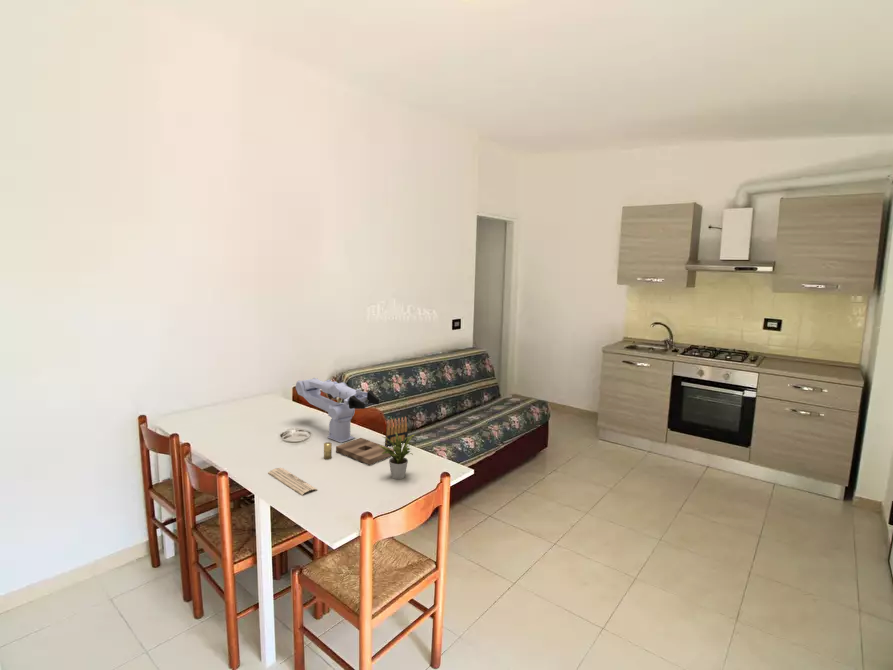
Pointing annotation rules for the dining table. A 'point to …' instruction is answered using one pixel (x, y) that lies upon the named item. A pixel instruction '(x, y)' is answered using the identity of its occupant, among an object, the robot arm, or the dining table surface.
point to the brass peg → (327, 450)
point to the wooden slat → (291, 480)
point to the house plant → (398, 457)
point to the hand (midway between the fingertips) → (371, 403)
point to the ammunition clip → (396, 431)
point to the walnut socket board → (363, 451)
